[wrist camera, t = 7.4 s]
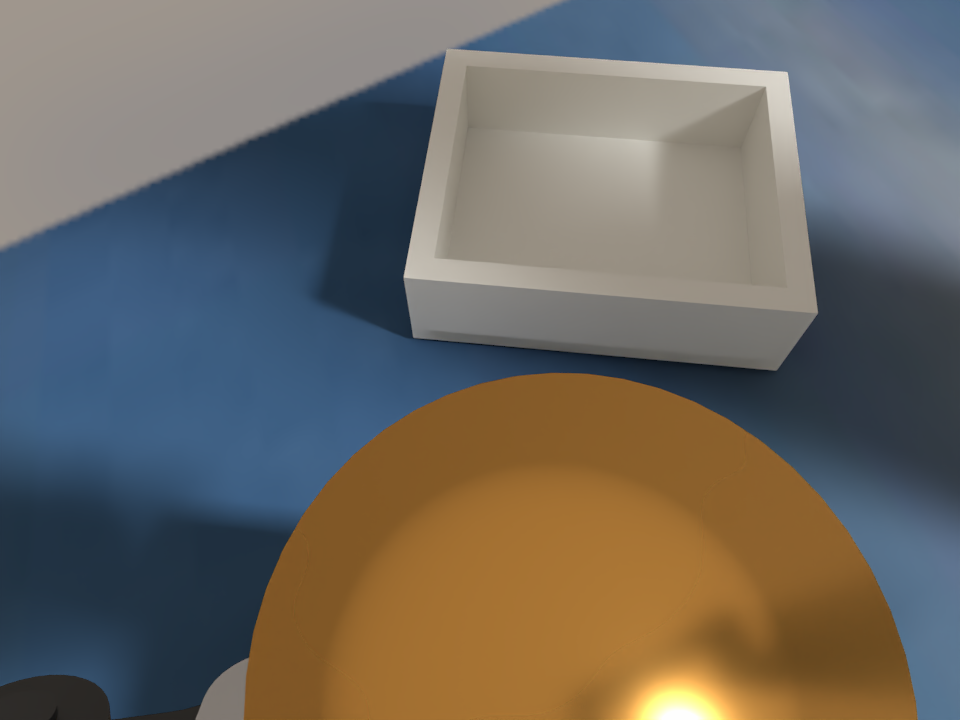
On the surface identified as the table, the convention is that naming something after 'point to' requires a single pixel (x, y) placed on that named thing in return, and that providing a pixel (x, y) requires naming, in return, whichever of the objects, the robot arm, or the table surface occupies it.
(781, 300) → the tray
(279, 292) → the table surface
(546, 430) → the lock pin
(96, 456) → the table surface
